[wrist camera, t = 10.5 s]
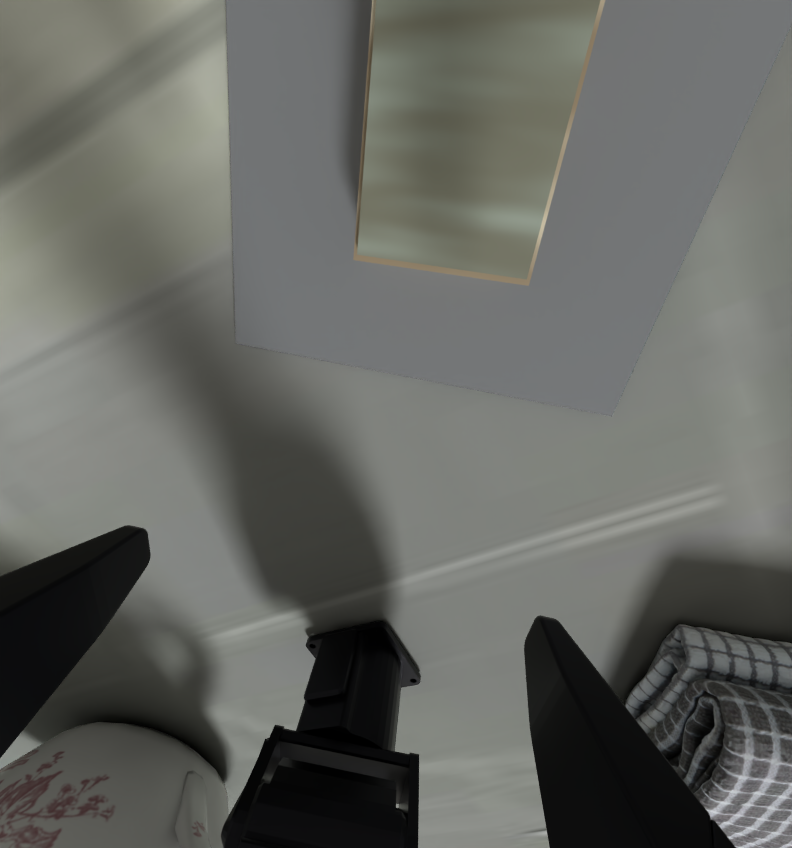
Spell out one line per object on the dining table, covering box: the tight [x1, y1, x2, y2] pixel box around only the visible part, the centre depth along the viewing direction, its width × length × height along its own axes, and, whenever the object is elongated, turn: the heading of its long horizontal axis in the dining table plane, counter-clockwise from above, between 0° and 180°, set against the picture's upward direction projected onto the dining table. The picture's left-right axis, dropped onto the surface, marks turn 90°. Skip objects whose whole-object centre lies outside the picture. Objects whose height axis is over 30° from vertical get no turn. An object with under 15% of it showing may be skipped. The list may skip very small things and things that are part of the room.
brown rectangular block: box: [353, 0, 605, 286], centre depth 11 cm, size 4×6×12 cm
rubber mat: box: [226, 0, 792, 416], centre depth 13 cm, size 22×18×1 cm
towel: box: [625, 625, 792, 848], centre depth 23 cm, size 15×18×8 cm
